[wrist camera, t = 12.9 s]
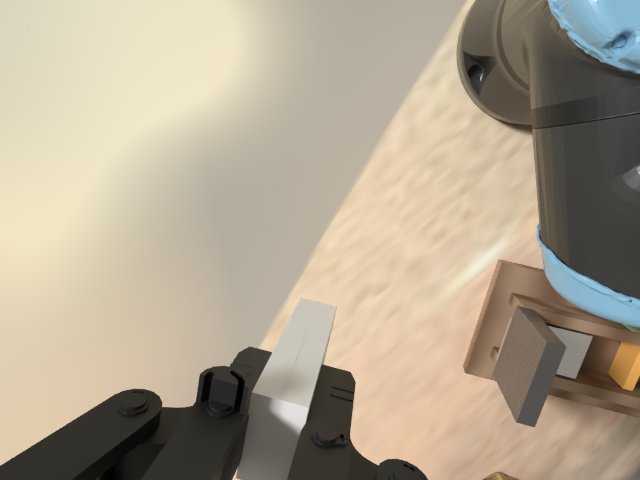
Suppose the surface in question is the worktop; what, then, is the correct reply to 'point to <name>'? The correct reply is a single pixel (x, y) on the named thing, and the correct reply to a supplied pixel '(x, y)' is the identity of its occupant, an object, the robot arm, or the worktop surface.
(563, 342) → the push plunger
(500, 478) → the rock
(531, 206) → the worktop surface
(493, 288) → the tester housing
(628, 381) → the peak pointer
